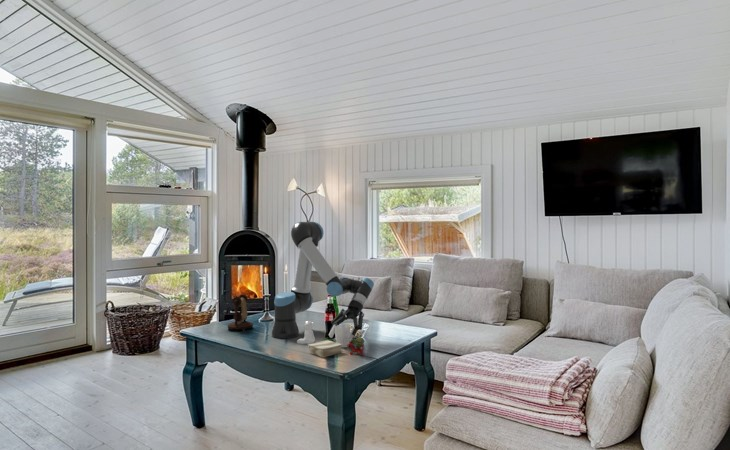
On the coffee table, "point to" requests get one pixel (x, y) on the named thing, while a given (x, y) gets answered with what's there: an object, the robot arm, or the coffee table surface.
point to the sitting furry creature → (307, 334)
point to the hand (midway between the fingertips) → (339, 338)
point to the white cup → (342, 334)
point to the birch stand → (324, 348)
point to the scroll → (240, 314)
